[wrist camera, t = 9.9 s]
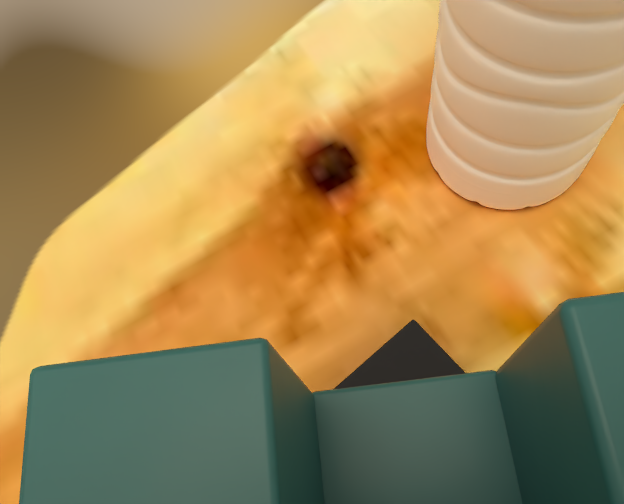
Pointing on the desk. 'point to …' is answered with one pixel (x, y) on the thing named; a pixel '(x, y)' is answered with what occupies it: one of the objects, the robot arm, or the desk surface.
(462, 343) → the desk surface
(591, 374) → the letter
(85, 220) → the desk surface
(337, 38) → the desk surface
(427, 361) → the desk pad
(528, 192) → the water bottle
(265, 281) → the desk surface
